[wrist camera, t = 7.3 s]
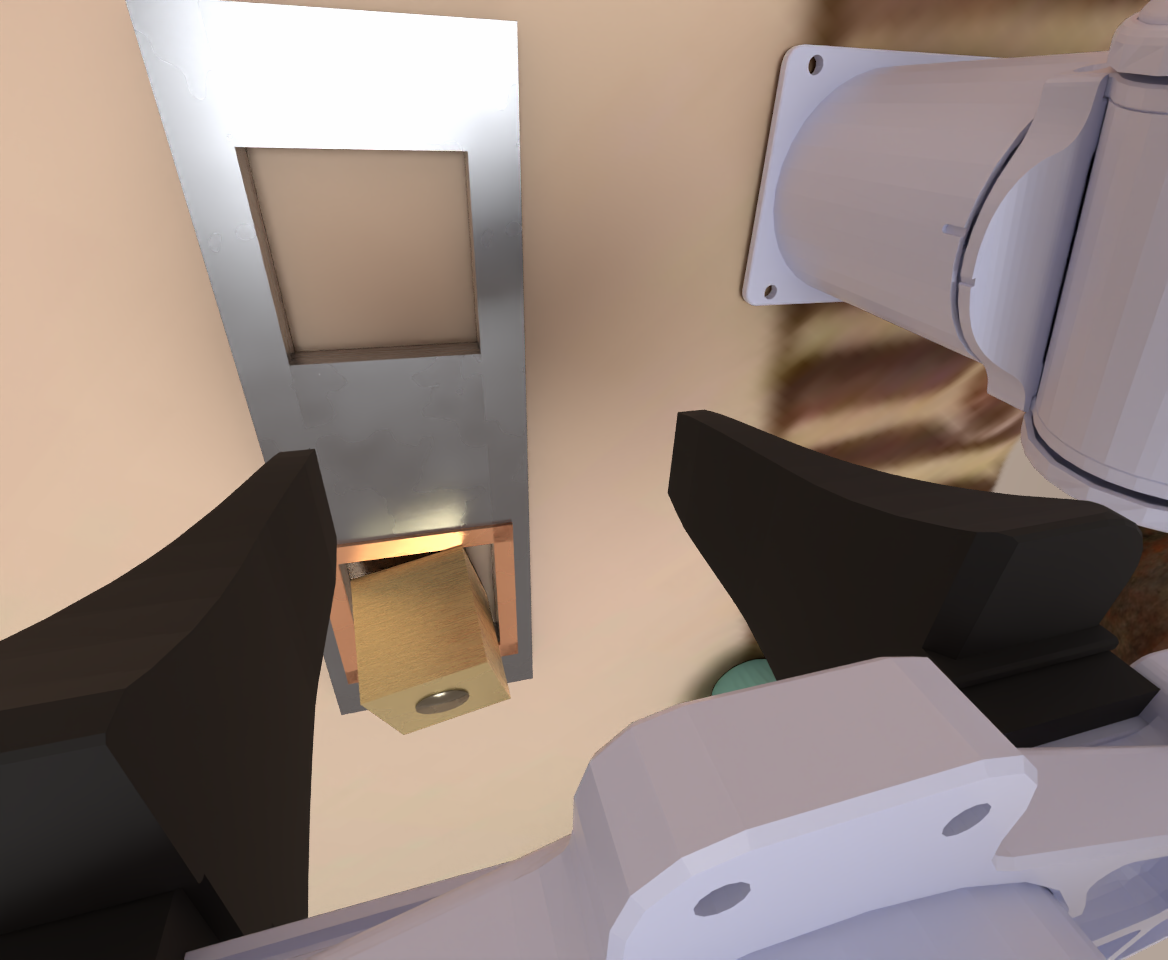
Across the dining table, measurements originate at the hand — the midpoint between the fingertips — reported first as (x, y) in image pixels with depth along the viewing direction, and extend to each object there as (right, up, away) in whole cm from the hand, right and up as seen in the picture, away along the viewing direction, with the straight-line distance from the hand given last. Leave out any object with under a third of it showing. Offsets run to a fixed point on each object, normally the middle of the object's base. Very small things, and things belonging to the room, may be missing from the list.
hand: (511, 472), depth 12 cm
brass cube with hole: (-5, -5, +13) cm, 15 cm away
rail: (-5, +1, +10) cm, 12 cm away
